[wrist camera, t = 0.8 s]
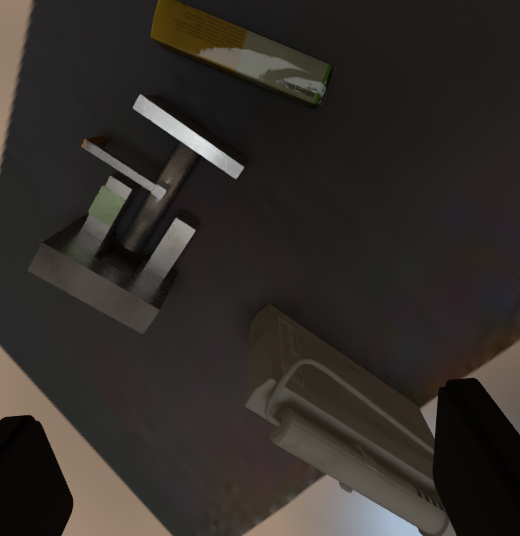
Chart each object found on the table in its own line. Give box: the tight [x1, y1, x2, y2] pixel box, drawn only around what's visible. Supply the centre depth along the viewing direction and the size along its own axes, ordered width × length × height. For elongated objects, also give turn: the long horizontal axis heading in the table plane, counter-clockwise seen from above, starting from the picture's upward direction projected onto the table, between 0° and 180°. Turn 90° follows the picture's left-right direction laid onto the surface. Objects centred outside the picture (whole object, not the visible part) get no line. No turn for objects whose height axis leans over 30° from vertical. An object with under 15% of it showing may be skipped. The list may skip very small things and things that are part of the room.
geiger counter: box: [245, 304, 456, 536], centre depth 33 cm, size 14×6×25 cm
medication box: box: [151, 0, 335, 108], centre depth 27 cm, size 12×3×4 cm, turn 70°
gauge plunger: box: [81, 94, 246, 252], centre depth 30 cm, size 11×10×4 cm
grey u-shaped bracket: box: [28, 171, 200, 334], centre depth 31 cm, size 8×9×7 cm
